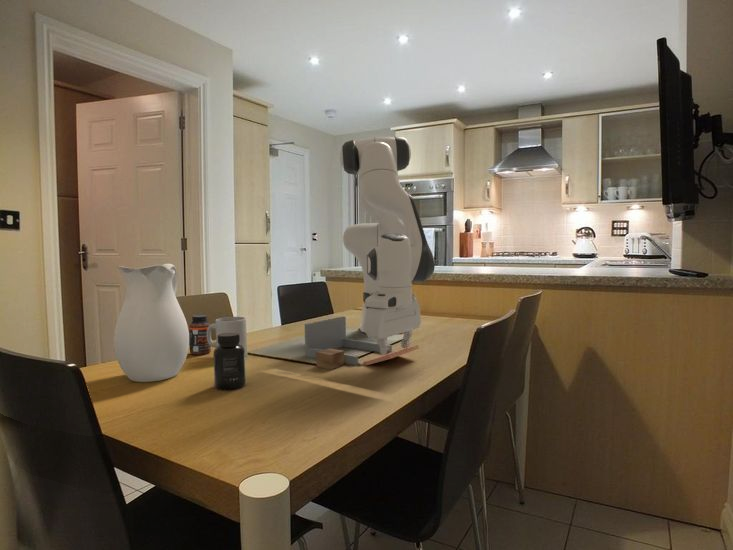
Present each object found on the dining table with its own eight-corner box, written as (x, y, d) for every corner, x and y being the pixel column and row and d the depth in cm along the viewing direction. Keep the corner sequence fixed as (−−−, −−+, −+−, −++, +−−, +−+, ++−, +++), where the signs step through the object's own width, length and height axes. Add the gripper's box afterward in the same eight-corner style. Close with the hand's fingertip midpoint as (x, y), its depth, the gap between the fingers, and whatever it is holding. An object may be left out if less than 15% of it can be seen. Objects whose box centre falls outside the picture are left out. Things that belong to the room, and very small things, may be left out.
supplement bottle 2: (251, 383, 111) (250, 332, 110) (234, 392, 104) (232, 338, 103) (227, 380, 113) (225, 330, 112) (208, 389, 106) (206, 336, 106)
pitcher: (173, 385, 109) (167, 265, 107) (101, 386, 110) (94, 266, 108) (209, 360, 133) (205, 260, 131) (150, 360, 134) (145, 261, 132)
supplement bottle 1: (198, 356, 138) (197, 317, 137) (185, 354, 141) (183, 316, 140) (215, 352, 143) (213, 314, 142) (202, 350, 146) (200, 313, 145)
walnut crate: (329, 367, 124) (329, 348, 124) (344, 370, 121) (344, 350, 121) (316, 371, 120) (316, 352, 120) (331, 374, 117) (331, 354, 117)
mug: (252, 353, 140) (251, 316, 139) (238, 361, 132) (236, 321, 131) (215, 352, 143) (214, 316, 142) (199, 359, 134) (198, 320, 134)
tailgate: (362, 362, 121) (389, 354, 116) (391, 352, 131) (417, 344, 126) (363, 366, 121) (390, 358, 116) (392, 355, 131) (418, 348, 126)
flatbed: (305, 359, 132) (304, 324, 131) (343, 349, 144) (342, 316, 144) (360, 370, 120) (359, 331, 119) (396, 357, 132) (395, 322, 132)
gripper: (406, 292, 131) (407, 342, 132) (360, 300, 115) (361, 356, 116) (426, 294, 128) (426, 344, 129) (381, 302, 112) (382, 360, 112)
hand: (395, 350), depth 122 cm, fingers open, 8 cm apart
